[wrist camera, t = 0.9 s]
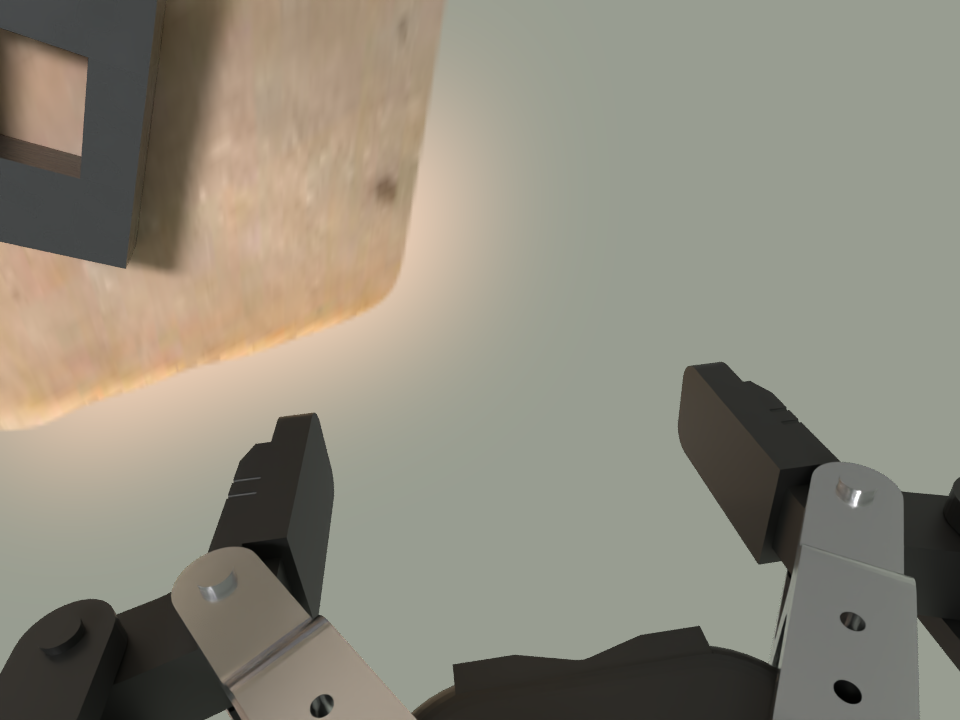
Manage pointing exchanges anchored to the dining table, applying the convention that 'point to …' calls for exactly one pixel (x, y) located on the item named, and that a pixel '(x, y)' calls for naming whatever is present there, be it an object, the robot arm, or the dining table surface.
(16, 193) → the dark grey flat board
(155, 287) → the dining table surface
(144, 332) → the dining table surface
